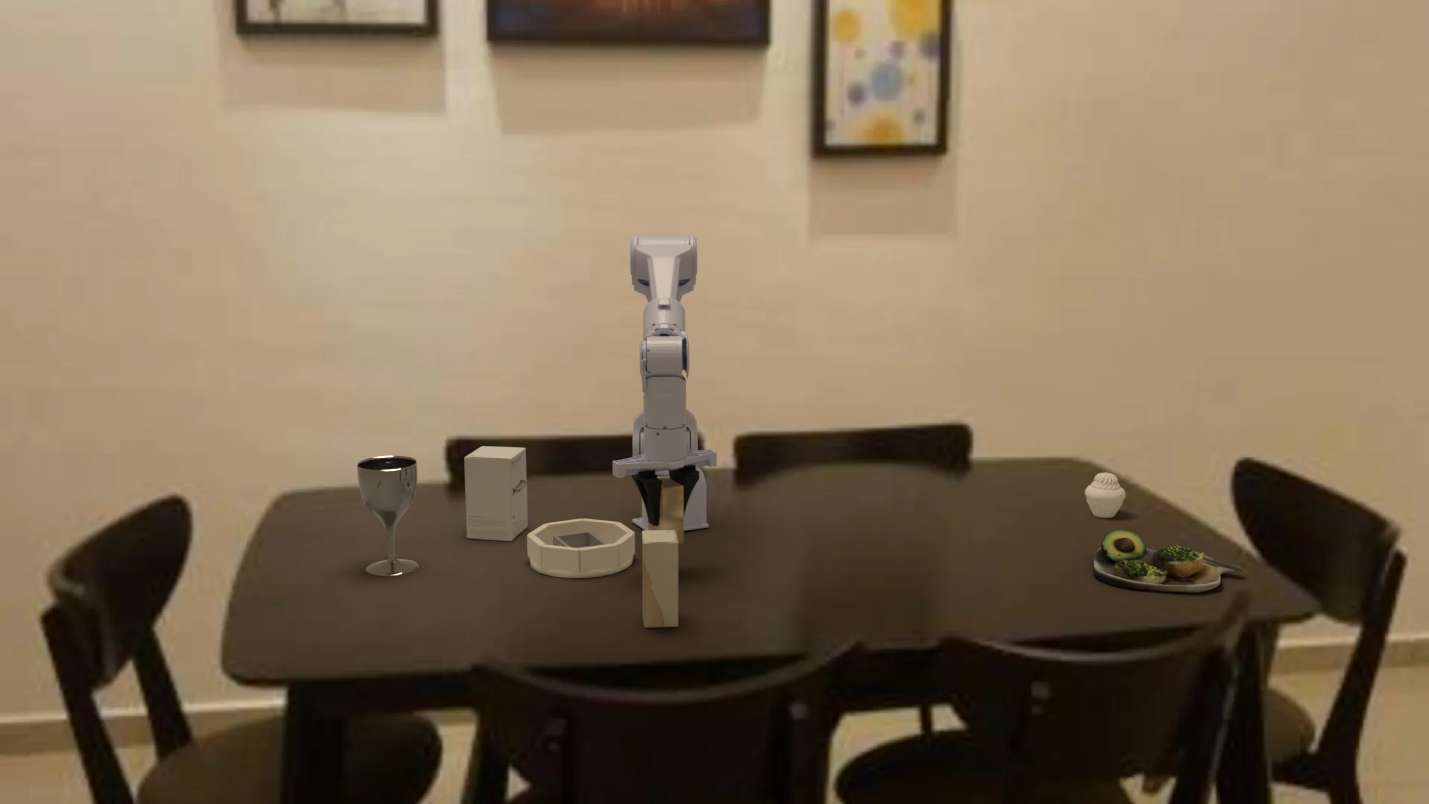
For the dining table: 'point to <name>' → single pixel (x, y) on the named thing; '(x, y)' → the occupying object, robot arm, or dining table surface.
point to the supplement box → (496, 493)
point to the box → (660, 578)
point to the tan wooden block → (671, 508)
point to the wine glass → (388, 502)
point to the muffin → (1105, 495)
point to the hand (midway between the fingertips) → (665, 522)
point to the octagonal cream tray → (581, 548)
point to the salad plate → (1154, 565)
